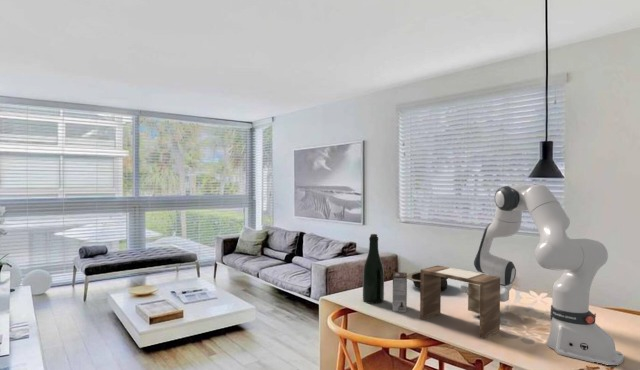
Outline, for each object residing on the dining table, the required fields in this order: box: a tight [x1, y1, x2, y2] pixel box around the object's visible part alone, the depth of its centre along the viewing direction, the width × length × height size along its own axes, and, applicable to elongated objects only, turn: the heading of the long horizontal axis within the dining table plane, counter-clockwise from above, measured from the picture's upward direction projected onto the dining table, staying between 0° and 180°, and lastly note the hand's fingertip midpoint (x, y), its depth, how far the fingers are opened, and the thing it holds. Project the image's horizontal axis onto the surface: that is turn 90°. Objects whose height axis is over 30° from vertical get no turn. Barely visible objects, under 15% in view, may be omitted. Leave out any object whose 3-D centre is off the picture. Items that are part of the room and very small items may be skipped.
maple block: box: [467, 282, 480, 314], centre depth 174 cm, size 5×5×12 cm
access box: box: [419, 265, 501, 339], centre depth 164 cm, size 28×14×21 cm, turn 41°
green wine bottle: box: [362, 233, 385, 304], centre depth 195 cm, size 10×10×33 cm
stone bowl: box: [407, 270, 449, 291], centre depth 220 cm, size 25×25×9 cm
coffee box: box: [392, 271, 408, 313], centre depth 183 cm, size 9×6×16 cm
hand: (475, 295), depth 174 cm, fingers closed on maple block, 5 cm apart
